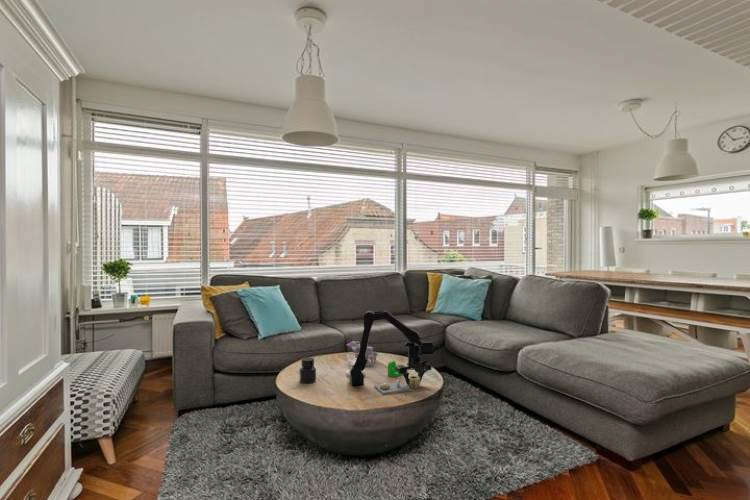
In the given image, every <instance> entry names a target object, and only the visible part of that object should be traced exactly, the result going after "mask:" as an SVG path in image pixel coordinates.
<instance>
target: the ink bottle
mask: <svg viewBox="0 0 750 500" xmlns="http://www.w3.org/2000/svg"><path fill="white" fill-rule="evenodd" d="M300 365H301V367H300V368H299V376H298V377H299V382H300V383H302V384H303V383H304V384H310V383H311V384H312V383H314V382H316V380H317V368H316V367H315V358H314V357H309V356H308V357H302V358H301V364H300Z"/></svg>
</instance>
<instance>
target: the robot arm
mask: <svg viewBox="0 0 750 500" xmlns="http://www.w3.org/2000/svg"><path fill="white" fill-rule="evenodd" d="M381 320H385V321H387V322H388V323H389V324H391V325H392V326H393V327H394V328H396V329H397V330H399V331H400V332H401V333H402V334H403V336H404V337H405V338H406V339H407V341H406V342H405V343H404V347H407V351H408V352H407V355H406V358H407V363H406V366H405V365H404V364H399V365H396V371H397V372H398V373H400V374H402V375H403V378H404V380H405V383H406V386H407V385H409V376H410V373H409V371H412V370H413V371H415V373H417V376H419V377H420V383H421V382H422V380H423V377H424V374H425V373H427V372H428V371H431V370H432V367H433V366H432V365H431V364H430V363H428V362H427V361H425V360H423V361H421V360H422V359H421V357H420V354H421V355H422V356H433V355H434V345H433V344H434V343H433V341H423V340H422V338H421V337H420V333H419V331H418V330H416V329H414V328H413V327H410V326H407V325H406V323H404V322H402V321H401V320H400V319H398V318H397V317H396V316H394V315H393V314H392V313H390V312H389V310H380V311H379V310H378V311H377V310H375V311H373V310H368V311H366V312H365V314H364V316H363V332H362V336H361V342H360V351H359V353H358V357H357V359H356V358H355V363H354V365H352V367H351V368H350V371H349V379H350V380H349V382H348V384H350V386H351V387H352V388H353V387H355V388H356V387H363V386H365V383H364V382H365V379H364V378H365V376H364V373H363V372H364V370H366V368H367V366H368V362H369V361H368V358H369V357H366V351H367V347H369V340H370V335H371V330H372V328H373V325H374V322H375V321H381Z"/></svg>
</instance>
